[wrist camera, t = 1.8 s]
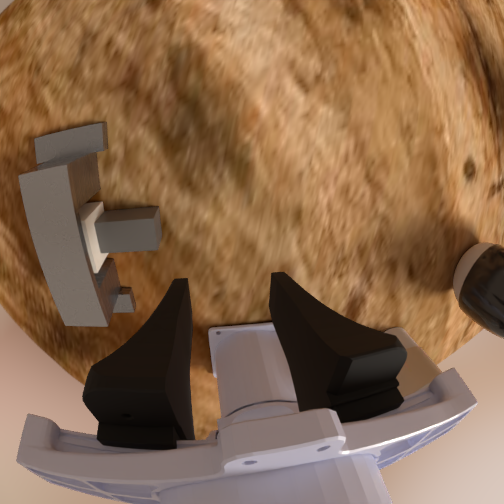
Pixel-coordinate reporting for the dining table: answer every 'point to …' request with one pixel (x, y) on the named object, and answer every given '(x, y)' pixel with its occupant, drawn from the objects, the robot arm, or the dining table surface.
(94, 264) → the plug
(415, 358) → the coffee cup
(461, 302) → the black penguin figurine
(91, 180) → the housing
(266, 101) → the dining table surface
